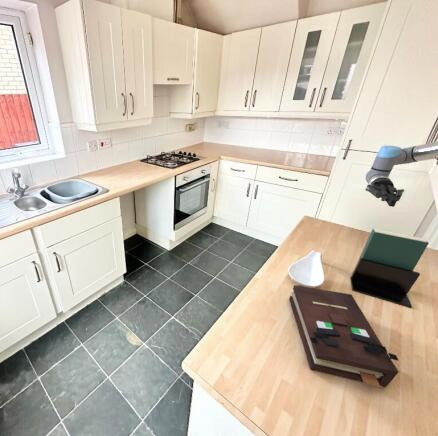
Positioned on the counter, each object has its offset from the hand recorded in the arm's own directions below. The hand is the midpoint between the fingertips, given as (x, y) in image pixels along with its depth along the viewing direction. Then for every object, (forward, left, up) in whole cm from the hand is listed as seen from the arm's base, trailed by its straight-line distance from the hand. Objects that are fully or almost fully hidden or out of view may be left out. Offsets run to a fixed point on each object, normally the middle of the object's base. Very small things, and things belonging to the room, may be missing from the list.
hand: (393, 203), depth 96 cm
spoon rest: (+23, +28, -25) cm, 44 cm away
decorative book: (+16, +56, -25) cm, 64 cm away
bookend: (0, +27, -25) cm, 36 cm away
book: (0, +18, -15) cm, 24 cm away
